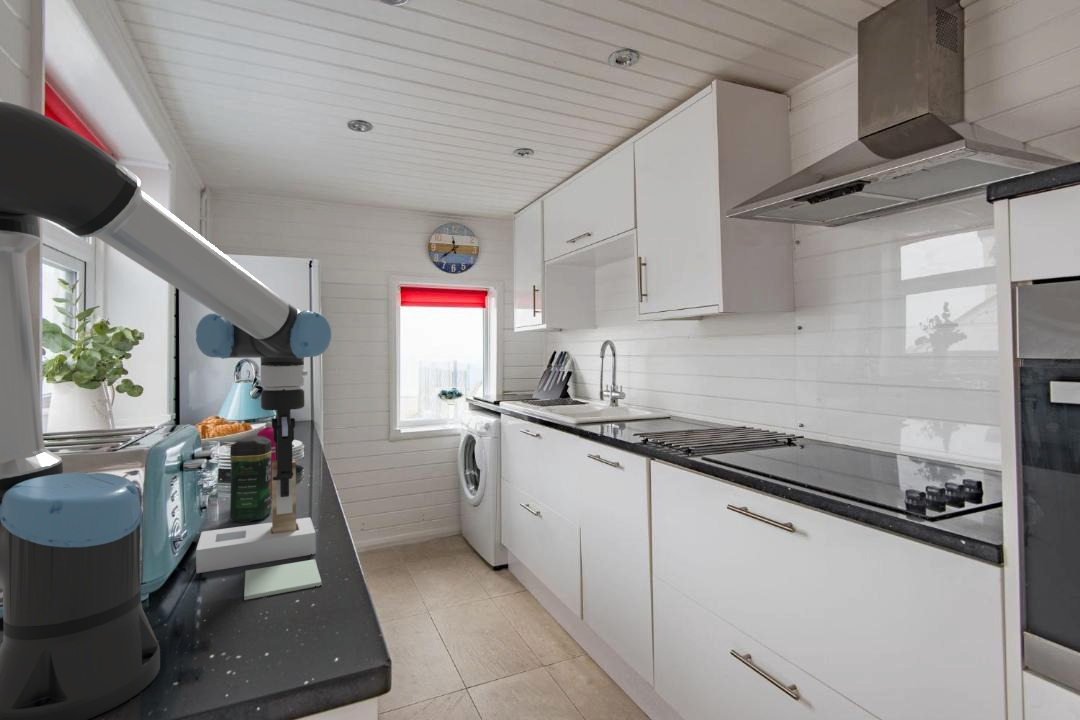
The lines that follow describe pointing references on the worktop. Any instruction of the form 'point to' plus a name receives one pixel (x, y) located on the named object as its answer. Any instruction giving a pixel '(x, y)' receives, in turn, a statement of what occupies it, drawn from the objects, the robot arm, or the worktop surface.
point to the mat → (281, 579)
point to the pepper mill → (269, 434)
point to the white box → (253, 545)
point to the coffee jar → (250, 479)
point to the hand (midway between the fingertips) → (283, 509)
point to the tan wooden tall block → (281, 520)
